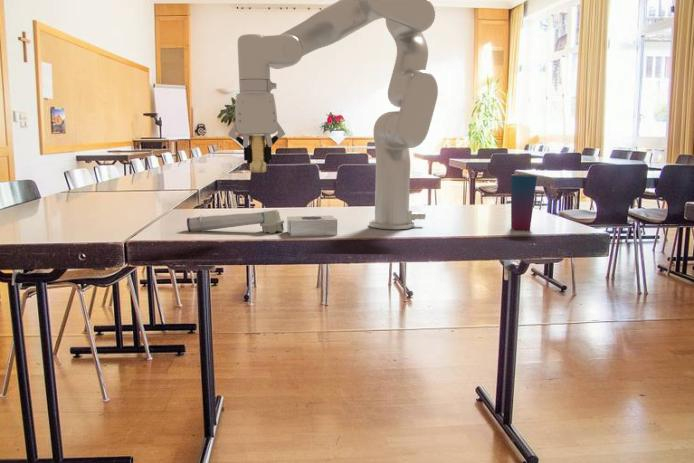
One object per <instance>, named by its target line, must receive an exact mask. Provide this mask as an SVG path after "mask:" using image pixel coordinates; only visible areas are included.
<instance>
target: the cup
mask: <svg viewBox="0 0 694 463" xmlns="http://www.w3.org/2000/svg"><path fill="white" fill-rule="evenodd" d="M537 179H538V175H537V174H529V173H527V174H526V173H520V174H519V173H516V174H514V173H513V174H511V175H510V189H511V190H510V199H511V200H510V215H511V216H510V218H511V219H510V223H511V224H510V229H511V230H512V229H514V230H513V231H518V230H528V231H530V230H531V224H532V217H533V210H534V204H535V202H534V201H535V194H536V187H537Z"/></svg>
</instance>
